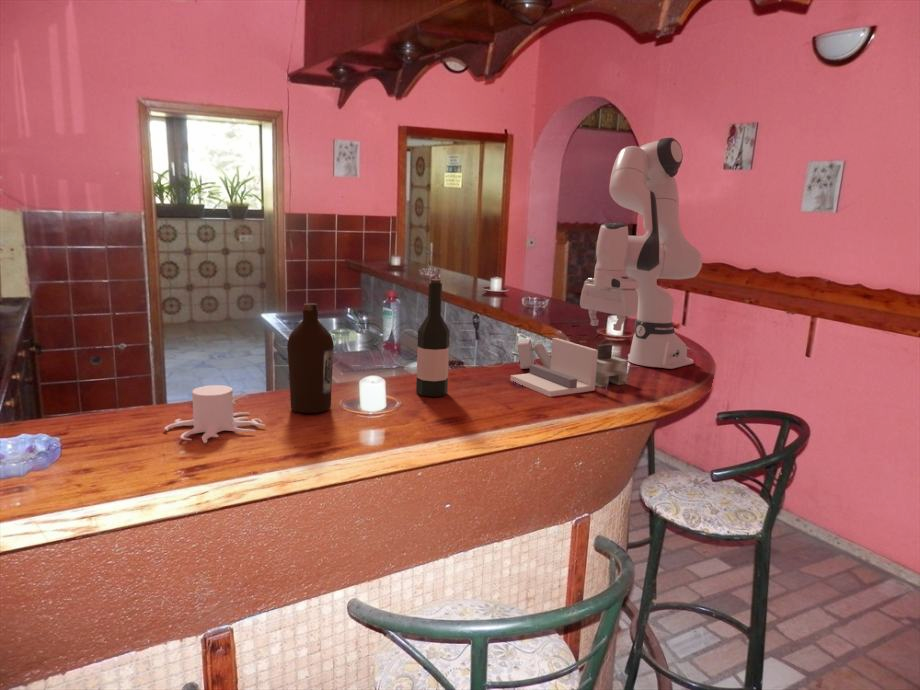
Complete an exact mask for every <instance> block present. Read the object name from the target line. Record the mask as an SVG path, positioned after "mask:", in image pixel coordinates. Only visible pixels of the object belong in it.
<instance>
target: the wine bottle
mask: <svg viewBox="0 0 920 690" xmlns="http://www.w3.org/2000/svg"><path fill="white" fill-rule="evenodd" d="M442 293H443V282H441V279H438V278H431V279H430V282H428V300H427V301H428V304H427V306H428V307H427V316H426V317H425V319H424V321H423V322H422V324H421V325H420V327H419V328H418V330H417V353H416V354H417V356H416V357H417V358H416V384H415V385H416V386H415V387H416V389H415V390H416V392H415V393H416V394H418V395H420V396H423V397H429V398H430V397H431V398H435V397H442V396H445V395H446V394H447V393H448V386H449V385H448V384H449V383H448V382H449V363H450V361H449V358H450V357H449V356H450V355H449V354H450V329H449V327H448V326H447V324H446V321H445V319H444V318H443V316H442V298H443V294H442Z"/></svg>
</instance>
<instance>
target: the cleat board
mask: <svg viewBox="0 0 920 690" xmlns="http://www.w3.org/2000/svg"><path fill="white" fill-rule="evenodd" d="M551 339H552V340H551V352H550V357H551V365H550V369H548V368H546V367H544V365H540V364H538V363H537V364H535V363H534V365H530V368H529V372H527V373H521V374H520V373H519V374H511V375H510V381H511V382H513V381H514V382H513V383H515V382H516V384H518V385H520V386H522V385H523V387H525V388H527V389H530V390H533V391H535V392H537V393H539V394H542V395H545V396H546V397H550V398H552V397H556V396H565V395H573V394H579V393H585V392H586V393H587V392H592V391H593V392H594V391H595V389H596V388H595V387H596V386H595V380H596V368H597V357H598V350H596V348H592V347H589V346H585V345H582V344H577V343H575V342H571V341H568V340H566V339H562V338H557V337H553V338H551Z"/></svg>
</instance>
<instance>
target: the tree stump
mask: <svg viewBox="0 0 920 690" xmlns="http://www.w3.org/2000/svg"><path fill="white" fill-rule="evenodd" d="M233 393H234V392H233V388H232V387H231V386H229V385H228V386H227V385H221V384H220V385H219V384H217V385H216V384H215V385H214V384H212V385H204V386H199V387H196V388H193V389H192V392H191V395H192V396H191V397H192V419H187V420H186V419H185V420H182V418H177V419H175V420H173V422H174V423H169V425H168V424H167V425H166V426H165V427H163V431H167V432H168V431H169V429H170V428H175V427H183V426H184V427H185V426H193V428H191V429H190V430H187V431H185V432H183V433H181V435H180V437H179V438H180V440H181V439H182V440H184V441H185V440H187V441H192V440H193V438H189V437H187V436H189V435H193V434H200V433H203V435H202V436H201V440H202V441H203V443H204V444H206V443H208V439H210V438H218V437H219V434H218V433H220V432H222V431H223V432H224V431H226V432H227V431H231V432H236V433H238V432H239V433H241V432H242V433H255V432H257V430H255V429H246V428H241V426H245V425H250V426H255V427H266V424H264V423H263V421H262V420H261V419H260V418H252V419H250V418H249V417H248V416H242V415H250V414H251V413H250V412H247V411H246V412H241V411H240V412H234V404H235V405H237V403H236V402H235V401H236V400H239V399H241V398H243V397H246V395H247V393H246V392H245V393H244V394H233ZM240 415H241V417H236V416H240ZM247 419H250V420H247ZM258 421H259V422H260V423H259V422H258Z"/></svg>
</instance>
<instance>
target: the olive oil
mask: <svg viewBox="0 0 920 690" xmlns="http://www.w3.org/2000/svg"><path fill="white" fill-rule="evenodd" d="M318 313H319V310H318V303H313V302H308V303H304V304H303V309H302V320H301V322H300V323H299V324H298V325H297V326H296V327H295V328H294V329H293V330H292V331H291V333H289V337H288V340H287V343H286V347H287V348H286V349H287V361H288V375H289V376H288V377H289V379H288V380H289V393H290V394H289V396H290V408H291V410H292V411H294V412H297V413H305V414H313V413H314V414H315V413H320V412H321V413H322V412H326V411H328V410H329V409H330V408H331V407H332V389H333V388H332V387H333V386H332V385H333V383H332V381H333V364H334V350H335V348H334V347H335V345H334V340H333V336H332V334H331V333H330V332H329V331H328V330H327V328H326V327H325V326H324V325H323V324H322V323H321V322H320V321H319V319H318V316H319V315H318Z"/></svg>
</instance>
